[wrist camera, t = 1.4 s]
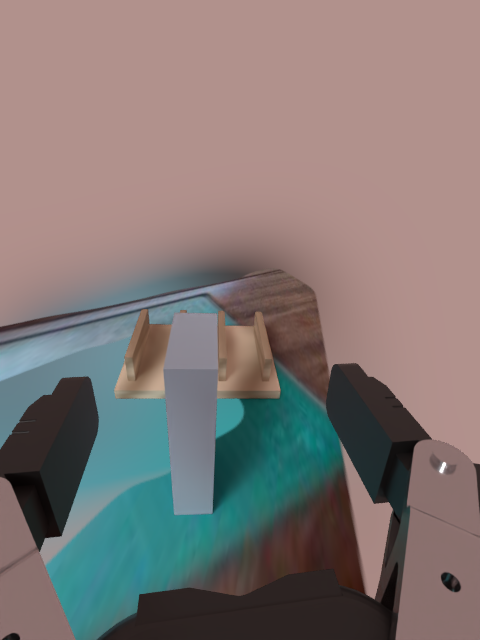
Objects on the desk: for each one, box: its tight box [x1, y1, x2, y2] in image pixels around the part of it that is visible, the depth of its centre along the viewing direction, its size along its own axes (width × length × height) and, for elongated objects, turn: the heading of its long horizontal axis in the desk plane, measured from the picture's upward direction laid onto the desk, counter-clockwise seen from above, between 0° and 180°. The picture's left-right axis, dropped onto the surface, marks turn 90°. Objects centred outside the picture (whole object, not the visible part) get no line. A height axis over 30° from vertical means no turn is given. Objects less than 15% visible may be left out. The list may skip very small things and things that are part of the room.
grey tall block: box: [163, 313, 218, 515], centre depth 25 cm, size 3×6×15 cm, turn 4°
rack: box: [114, 309, 281, 399], centre depth 41 cm, size 18×13×4 cm
